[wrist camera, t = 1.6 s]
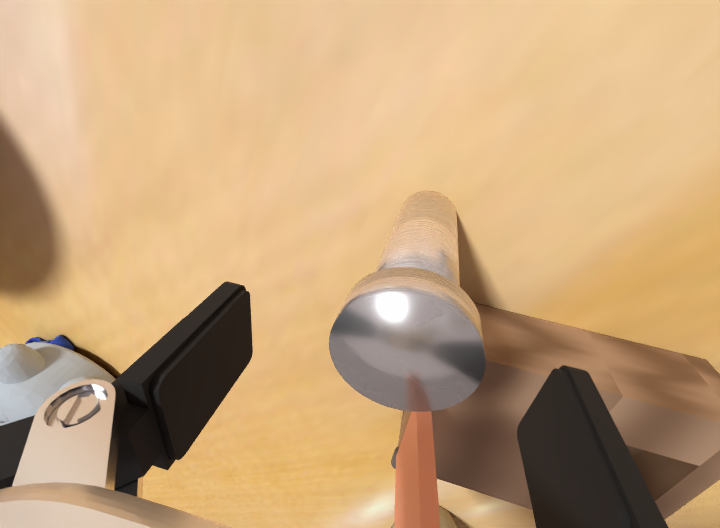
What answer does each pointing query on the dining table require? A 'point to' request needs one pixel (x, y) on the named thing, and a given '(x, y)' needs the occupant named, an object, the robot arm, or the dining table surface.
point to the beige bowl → (443, 519)
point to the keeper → (416, 476)
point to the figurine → (40, 375)
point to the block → (618, 390)
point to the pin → (412, 317)
